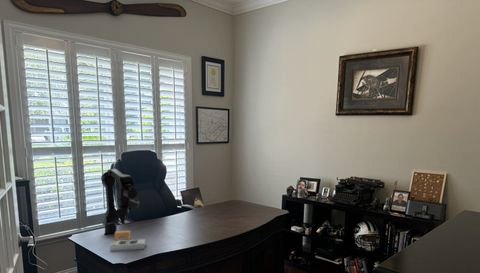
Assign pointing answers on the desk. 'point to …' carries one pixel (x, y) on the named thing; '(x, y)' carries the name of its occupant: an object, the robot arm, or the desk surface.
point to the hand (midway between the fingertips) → (124, 221)
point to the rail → (127, 245)
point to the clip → (122, 233)
